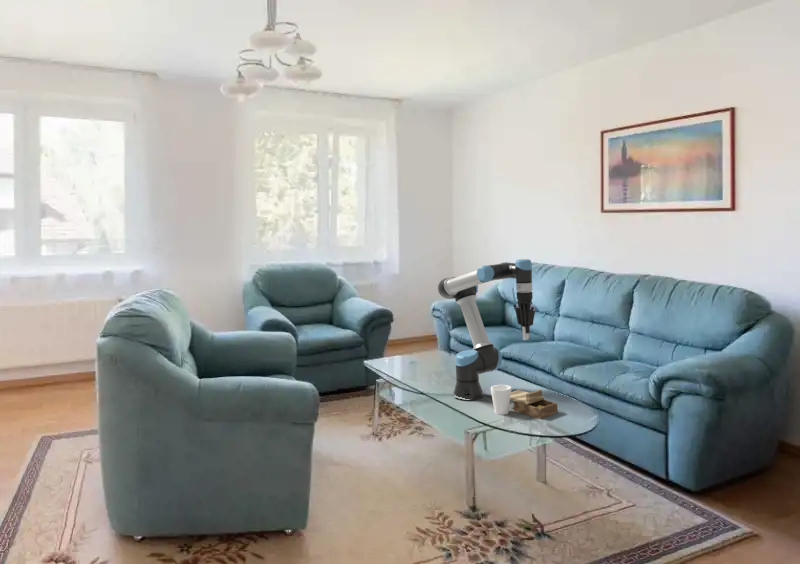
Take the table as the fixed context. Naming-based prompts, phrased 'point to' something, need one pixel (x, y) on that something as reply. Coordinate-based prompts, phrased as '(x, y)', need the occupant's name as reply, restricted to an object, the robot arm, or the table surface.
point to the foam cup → (501, 398)
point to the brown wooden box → (533, 410)
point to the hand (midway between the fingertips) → (525, 339)
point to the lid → (526, 396)
